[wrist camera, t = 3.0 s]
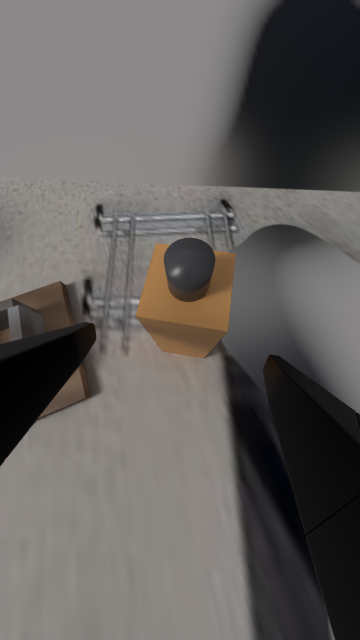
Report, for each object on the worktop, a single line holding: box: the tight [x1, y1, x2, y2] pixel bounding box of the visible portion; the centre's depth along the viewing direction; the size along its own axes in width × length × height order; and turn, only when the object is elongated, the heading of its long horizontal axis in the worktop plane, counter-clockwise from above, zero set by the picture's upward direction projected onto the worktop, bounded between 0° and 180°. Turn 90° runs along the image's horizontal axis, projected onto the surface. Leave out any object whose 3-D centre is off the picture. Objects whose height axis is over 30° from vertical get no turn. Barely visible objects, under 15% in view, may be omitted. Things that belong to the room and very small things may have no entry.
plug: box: [136, 238, 236, 358], centre depth 14 cm, size 5×5×13 cm
